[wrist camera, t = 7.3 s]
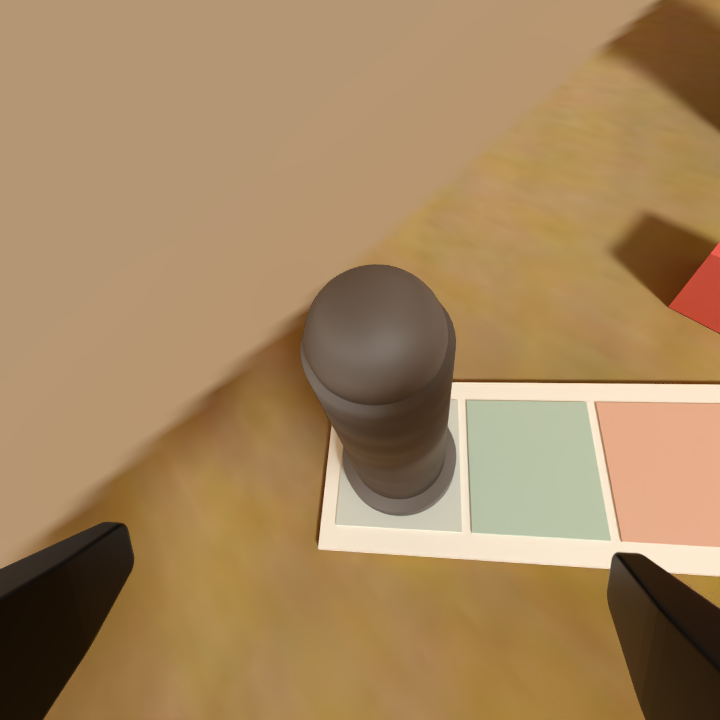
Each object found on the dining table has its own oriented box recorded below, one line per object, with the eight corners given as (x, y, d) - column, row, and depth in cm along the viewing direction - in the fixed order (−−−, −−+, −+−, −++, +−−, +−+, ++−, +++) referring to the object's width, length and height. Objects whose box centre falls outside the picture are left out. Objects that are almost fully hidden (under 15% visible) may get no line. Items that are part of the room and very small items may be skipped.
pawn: (375, 537, 19) (306, 444, 8) (329, 438, 22) (228, 266, 11) (477, 482, 20) (535, 328, 9) (420, 391, 22) (412, 183, 11)
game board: (320, 549, 20) (317, 548, 19) (337, 384, 24) (336, 380, 23) (982, 594, 16) (998, 593, 16) (876, 389, 20) (886, 385, 19)
